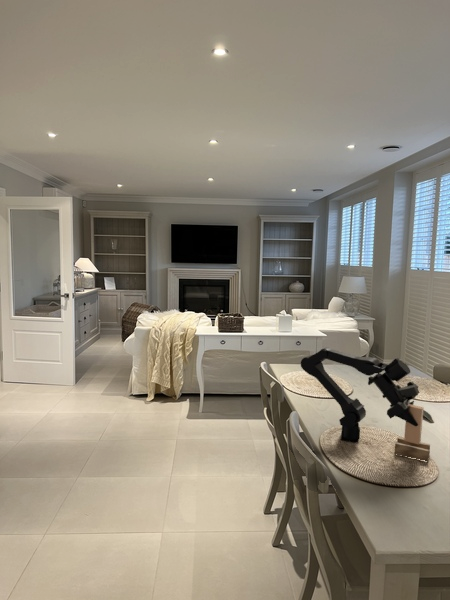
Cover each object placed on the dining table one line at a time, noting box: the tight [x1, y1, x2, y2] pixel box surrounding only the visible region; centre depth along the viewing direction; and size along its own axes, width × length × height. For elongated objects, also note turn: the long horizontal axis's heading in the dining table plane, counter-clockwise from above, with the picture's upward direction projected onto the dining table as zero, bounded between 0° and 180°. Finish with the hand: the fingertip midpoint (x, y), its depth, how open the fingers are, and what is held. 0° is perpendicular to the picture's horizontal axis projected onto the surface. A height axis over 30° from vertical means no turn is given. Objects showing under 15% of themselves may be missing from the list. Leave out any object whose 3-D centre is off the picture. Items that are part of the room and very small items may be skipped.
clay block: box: [403, 404, 425, 444], centre depth 149 cm, size 5×2×13 cm, turn 53°
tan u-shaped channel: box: [393, 436, 431, 462], centre depth 152 cm, size 11×8×4 cm
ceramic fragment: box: [423, 409, 435, 424], centre depth 189 cm, size 14×5×4 cm, turn 11°
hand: (417, 424), depth 148 cm, fingers closed on clay block, 2 cm apart
